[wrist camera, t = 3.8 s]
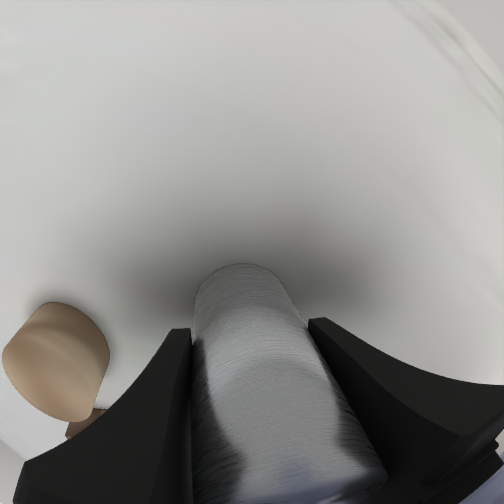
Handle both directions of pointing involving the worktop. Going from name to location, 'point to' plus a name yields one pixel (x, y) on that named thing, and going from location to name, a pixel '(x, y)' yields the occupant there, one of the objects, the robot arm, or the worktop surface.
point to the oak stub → (58, 361)
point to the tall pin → (269, 403)
